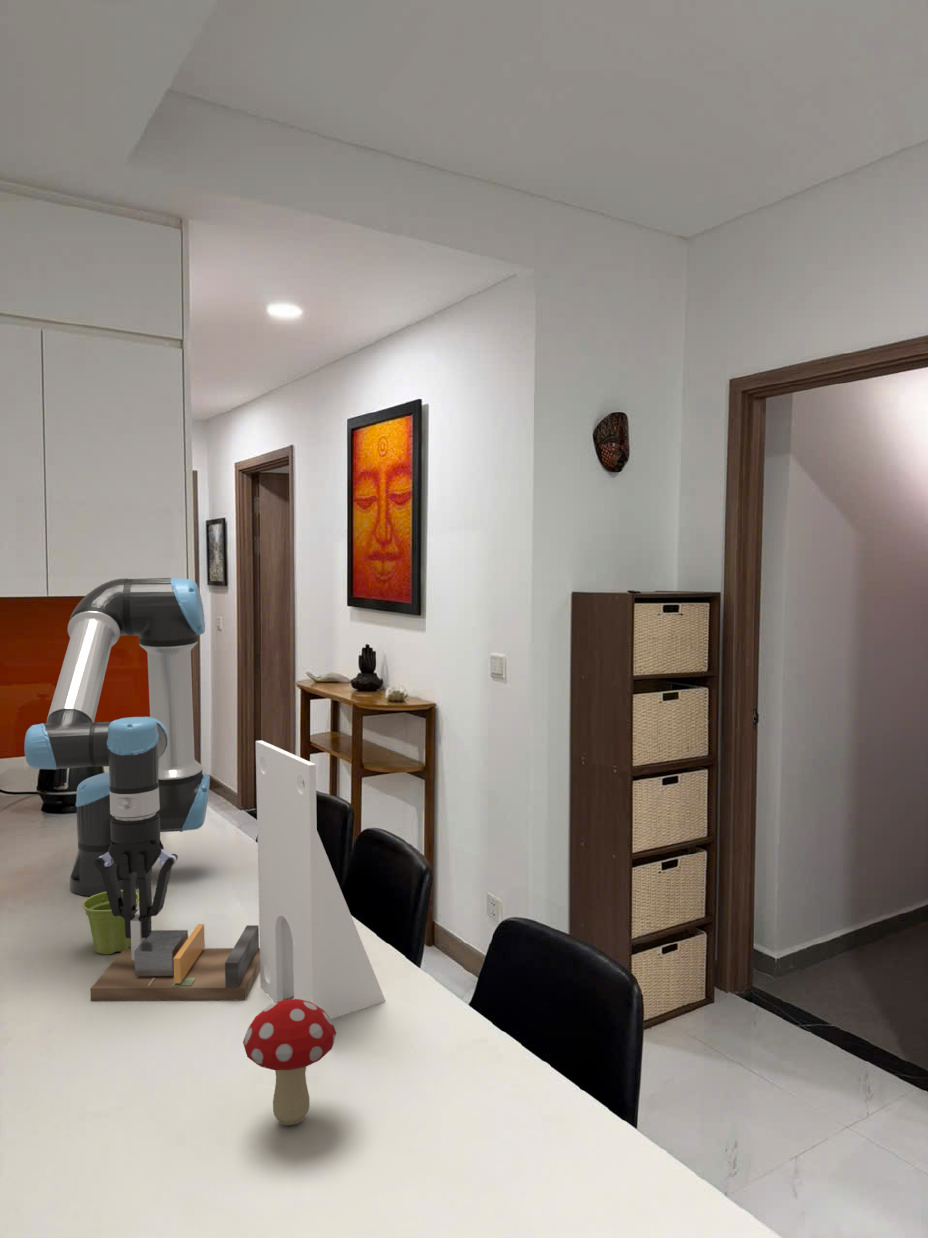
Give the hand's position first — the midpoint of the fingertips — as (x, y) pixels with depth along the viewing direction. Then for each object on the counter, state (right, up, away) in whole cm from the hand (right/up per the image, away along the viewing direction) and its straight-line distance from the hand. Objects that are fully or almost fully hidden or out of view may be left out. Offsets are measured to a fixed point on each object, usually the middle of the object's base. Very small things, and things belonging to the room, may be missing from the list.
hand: (139, 956), depth 145 cm
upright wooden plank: (+8, -1, 0) cm, 8 cm away
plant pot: (-9, -3, +12) cm, 16 cm away
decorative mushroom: (+32, -7, -37) cm, 49 cm away
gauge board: (+7, -4, 0) cm, 8 cm away
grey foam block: (+4, -1, 0) cm, 4 cm away
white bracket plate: (+32, -5, -7) cm, 33 cm away
